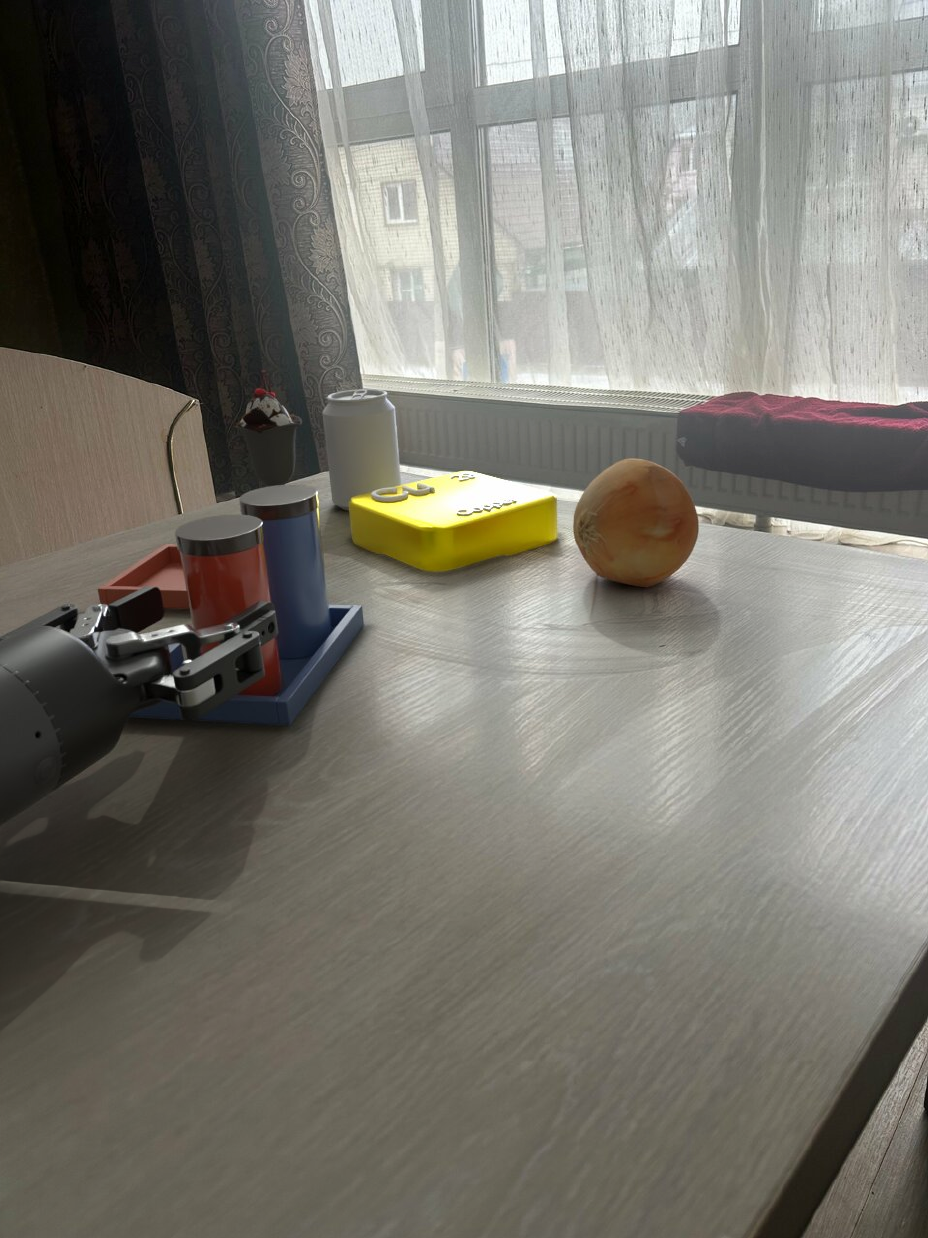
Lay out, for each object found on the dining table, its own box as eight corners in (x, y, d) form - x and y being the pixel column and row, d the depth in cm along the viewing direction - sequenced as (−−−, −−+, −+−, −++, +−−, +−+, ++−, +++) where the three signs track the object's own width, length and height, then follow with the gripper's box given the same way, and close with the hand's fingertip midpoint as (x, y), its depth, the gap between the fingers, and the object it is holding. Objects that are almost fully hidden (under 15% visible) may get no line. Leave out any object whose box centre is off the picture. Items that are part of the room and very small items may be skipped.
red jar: (189, 706, 61) (158, 539, 57) (224, 670, 65) (198, 514, 61) (267, 710, 60) (241, 540, 56) (296, 673, 64) (275, 514, 60)
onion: (547, 585, 79) (545, 464, 75) (626, 554, 85) (627, 441, 81) (642, 615, 72) (644, 484, 68) (720, 579, 78) (726, 457, 74)
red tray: (102, 612, 78) (97, 588, 78) (168, 565, 89) (164, 543, 88) (244, 616, 76) (240, 591, 75) (295, 567, 86) (293, 545, 85)
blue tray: (118, 724, 60) (112, 694, 60) (222, 627, 74) (218, 601, 73) (291, 733, 58) (286, 702, 57) (365, 631, 72) (362, 605, 71)
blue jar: (249, 658, 67) (226, 505, 63) (277, 628, 72) (257, 484, 68) (320, 661, 66) (301, 505, 62) (344, 631, 71) (327, 484, 66)
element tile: (434, 581, 81) (430, 526, 79) (344, 542, 92) (339, 493, 91) (567, 540, 89) (566, 489, 87) (469, 509, 100) (467, 464, 99)
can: (322, 514, 101) (309, 399, 97) (347, 495, 108) (335, 386, 104) (390, 516, 100) (380, 398, 95) (411, 496, 106) (402, 385, 102)
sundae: (291, 506, 105) (273, 365, 100) (324, 517, 101) (307, 370, 95) (237, 519, 102) (215, 374, 96) (269, 532, 97) (247, 379, 91)
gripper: (93, 683, 41) (304, 560, 54) (-129, 641, 47) (111, 539, 60) (126, 831, 44) (319, 679, 57) (-87, 775, 50) (133, 649, 63)
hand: (212, 608), depth 59 cm, fingers open, 8 cm apart
